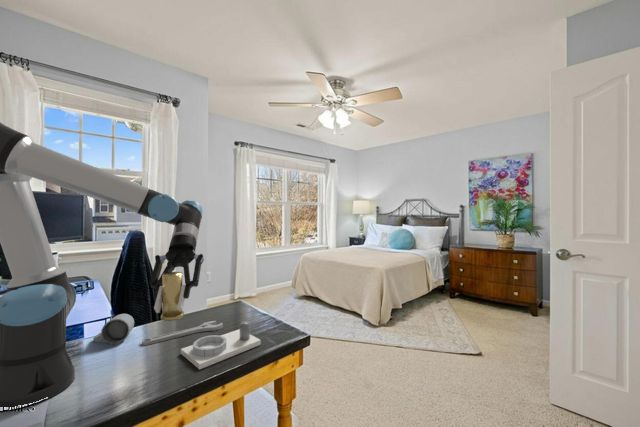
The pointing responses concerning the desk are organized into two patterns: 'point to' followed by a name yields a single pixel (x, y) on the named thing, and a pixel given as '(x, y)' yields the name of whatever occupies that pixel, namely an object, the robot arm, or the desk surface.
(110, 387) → the desk surface
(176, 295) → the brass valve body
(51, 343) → the robot arm
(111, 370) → the desk surface
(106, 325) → the ceramic mug
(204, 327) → the adjustable wrench
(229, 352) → the board
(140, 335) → the desk surface
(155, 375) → the desk surface
